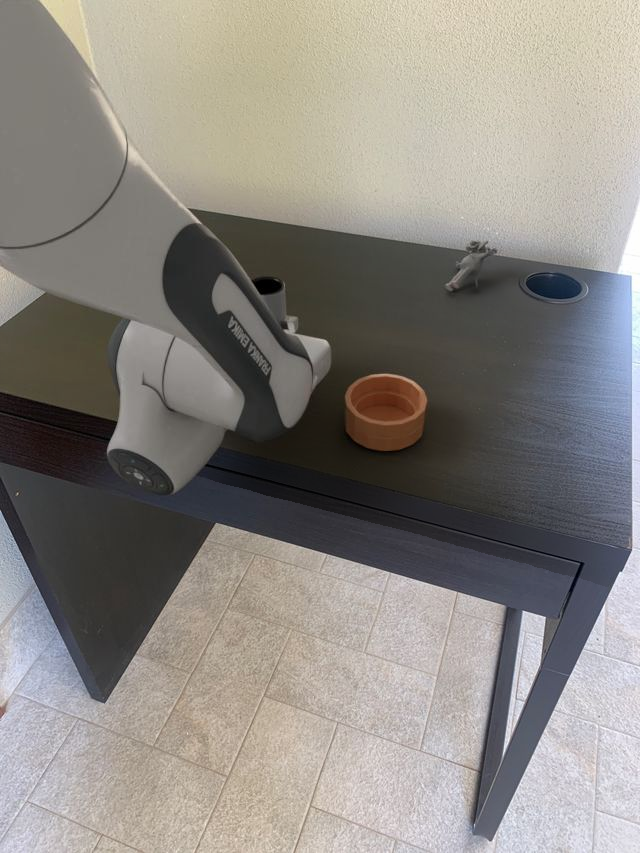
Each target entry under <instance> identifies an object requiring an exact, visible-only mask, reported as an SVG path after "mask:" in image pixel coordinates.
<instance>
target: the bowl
mask: <svg viewBox="0 0 640 853" xmlns="http://www.w3.org/2000/svg"><path fill="white" fill-rule="evenodd" d="M427 409H428V398H427V394H426V392H425V389H423V388H422V387H421V386H420V385H419V384H418V383H417V382H415V381H414V380H412V379H410V378H407V377H405V376H403V375H399V374H392V373H375V374H369V375H366V376H364V377H361V378H358V379H356V380H355V381H354V382H353V383H352V384H351V385H349V386H348V388H347V390H346V392H345V395H344V412H343V413H344V415H343V416H344V418H343V419H344V420H343V424H344V427H345V432H346V433H347V435H348V436H349V437H350V438H351V439H352V440H353V441H354V442H355V443H356V444H358V445H361V446H362V447H364V448H367V449H370V450H374V451H380V452H391V451H399V450H402V449H406V448H408V447H410V446H413V445H414V444H415V443H416V442H417V441H418V440H419V439H420V438H421V437H422V436H423V434H424V430H425V426H426V419H427V418H426V417H427Z"/></svg>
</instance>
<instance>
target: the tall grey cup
mask: <svg viewBox="0 0 640 853" xmlns="http://www.w3.org/2000/svg"><path fill="white" fill-rule="evenodd" d="M250 280H251V282H252V283H253V285H254V286H255V288H256V289H257V291H258V292H259V294H260V295H261V297H262V298H263V300H264V302H265V303H266V305H267V306H268V308H269V309H270V311H271V312H272V314H273V315H274V317H275V318H276V320H277V322H278V323H279V325H280V326H281V328H283V327H282V325H281V321H282V320H283V319H284V318H285V316H286V315H287V298H286V283H285V282H284V281H283V280H282V279H281V278H279V277H276V276H270V275H266V276H265V275H263V276H259V277H255V278H253V279H250Z"/></svg>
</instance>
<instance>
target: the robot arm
mask: <svg viewBox="0 0 640 853" xmlns="http://www.w3.org/2000/svg"><path fill="white" fill-rule="evenodd" d="M0 267H1V268H3V269H4V270H6V271H8V272H9V273H11V274H12V275H14V276H16V277H17V278H19V279H20V280H22V281H24V282H26V283H28V284H29V285H31V286H33V287H35V288H37V289H38V290H40V291H43V292H45V293H47V294H50V295H52V296H54V297H56V298H57V297H58V298H60V299H64V300H66V301H69V302H72V303H75V304H79V305H82V306H85V307H88V308H90V309H91V308H92V309H94V310H98V311H101V312H104V313H108V314H111V315H114V316H116V317H117V316H118V317H121V318H122V319H121V320H120V321H119V323H118V324H117V325H116V327H115V328H114V330H113V332H112V334H111V335H110V338H109V340H108V344H107V350H106V351H107V353H106V354H107V364H108V369H109V372H110V375H111V378H112V381H113V384H114V387H115V390H116V392H117V394H118V397H119V411H118V419H117V423H116V426H115V429H114V431H113V434H112V436H111V438H110V440H109V442H108V445H107V449H106V457H107V460H108V463H109V465H110V466H111V468H112V469H113V470H114V472H115V473H116V474H117V475H118V476H119V477H120V478H121V479H123V480H124V481H125V482H126V483H128V484H129V485H131V486H133V487H135V488H137V489H140V490H143V491H145V492H148V493H151V494H154V495H158V496H170V495H173V494H175V493H177V492H179V491H180V490H182V489H183V488H184V487H185V486H186V485H188V484H189V483H190V482H191V481H192V480H193V479H194V478H195V477H196V476H197V475H198V474H199V473H200V471H202V469H203V468H204V467H205V466H206V465H207V463H208V462H209V461H210V459H211V458H212V457H213V456H214V454H215V453H216V452H217V451H218V449H219V448H220V446H221V445H222V443H223V441H224V438H225V434H226V432H227V431H228V430H229V431H232V432H233V433H234V434H236V435H238V436H241V437H244V438H246V439H247V440H251V441H253V442H255V443H257V444H262V443H265V442H268V441H271V440H273V439H276V438H279V437H280V436H282V435H284V434H286V433H288V432H290V431H292V430H293V429H294V428H295V427H296V426H297V425H298V424H299V423H300V422H301V420H302V418H303V416H304V414H305V412H306V410H307V408H308V405H309V402H310V399H311V395H312V393H313V392H314V391H315V389H316V387H317V386H318V384H320V382H321V381H322V380H323V379H324V378H325V376H326V375H327V374H328V373H329V371H330V370H331V367H332V348H331V345H330V344H329V342H328V340H327V339H323V338H319V337H314V336H309V335H303V334H299V333H296V332H297V331H298V330H299V317H297V316H294V315H287V314H286V316H285V318H284V319H283V320H282V321H281V325H282V327H283V328H281V326H280V325H279V323H278V322H277V320H276V318H275V317H274V315H273V314H272V312H271V311H270V309H269V308H268V306H267V305H266V303H265V302H264V300H263V298H262V297H261V295H260V294H259V292H258V291H257V289H256V288H255V286H254V285H253V283H252V282H251V280H252V279H251V278H250V277H249V275H248V274H247V272H246V271H245V270H244V267H243V266H242V265H241V263H239V261H238V259H237V258H236V257H235V255H234V254H233V253H232V252H231V250H229V248H228V247H227V246H226V245H225V244H224V243H223V242H222V241H221V240H220V239H219V238H218V237H217V236H216V235H215V234H214V233H213V232H212V231H211V230H210V229H209V227H207V226H206V225H205V224H203V223H202V222H201V221H200V220H199V219H198V218H197V217H196V215H194V213H193V212H192V211H191V210H189V208H188V207H187V206H185V204H184V203H182V201H181V200H180V199H179V198H178V197H177V196H176V194H175V193H173V191H172V190H171V189H170V188H169V187H168V185H167V184H166V183H165V182H164V180H163V179H162V178H161V177H160V176H159V174H158V173H157V172H156V171H155V169H154V168H153V167H152V166H151V164H150V163H149V162H148V160H147V159H146V158H145V157H144V155H143V154H142V152H141V151H140V150H139V148H138V147H137V145H136V143H135V142H134V141H133V139H132V137H131V135H129V132H128V131H127V129H126V128H125V126H124V123H123V122H122V120H121V119H120V117H119V114H118V113H117V111H116V109H115V108H114V106H113V104H112V102H111V100H110V99H109V96H108V94H107V93H106V91H105V89H104V88H103V86H102V85H101V83H100V82H99V80H98V79H97V77H96V75H95V74H94V72H93V71H92V69H91V68H90V66H89V65H88V62H86V60H85V59H84V57H83V56H82V54H81V53H80V52H79V50H78V49H77V47H76V46H75V44H74V43H73V41H72V40H71V39H70V37H69V36H68V35H67V34H66V32H65V31H64V30H63V29H62V27H61V26H60V25H59V23H58V22H57V21H56V19H55V17H53V16H52V14H51V12H49V10H48V9H47V7H45V5H44V4H43V3H42V2H41V0H0Z"/></svg>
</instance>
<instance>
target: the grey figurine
mask: <svg viewBox="0 0 640 853" xmlns="http://www.w3.org/2000/svg"><path fill="white" fill-rule="evenodd" d="M487 244H489V241H488V240H483V241H482V242H481V241H479V240H477V241H476V240H468V242H467V244H466V242H463V247H464V249H465V251H468V253H469V255H467V256H465V257H464V258H463V259H462V260H461V262H458V261H455V267H456V268H457V269H460V270H459V271H458V273H457V274H456V275H455V276H453V277H452V279H451V280H450V282H448V283H446V284H445V285H444V287H445V288H446V290H448V291H449V292H451V293H452V292H453V291H454V290H455V289H457V290H458V289H459V290H460V288H461V287H462V285H463V284H464V282H465V280H466V279H467V278H469V277H472V278H474V282H475V286H476V288H478V280H479V273H480V271H481V269H482V267H483V264H484V260H485V259H486V258H487V257H490V256H493V255H495V254H497V253H498V249H497V248H495V247H494V248H490V247H489V246H486V245H487Z"/></svg>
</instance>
